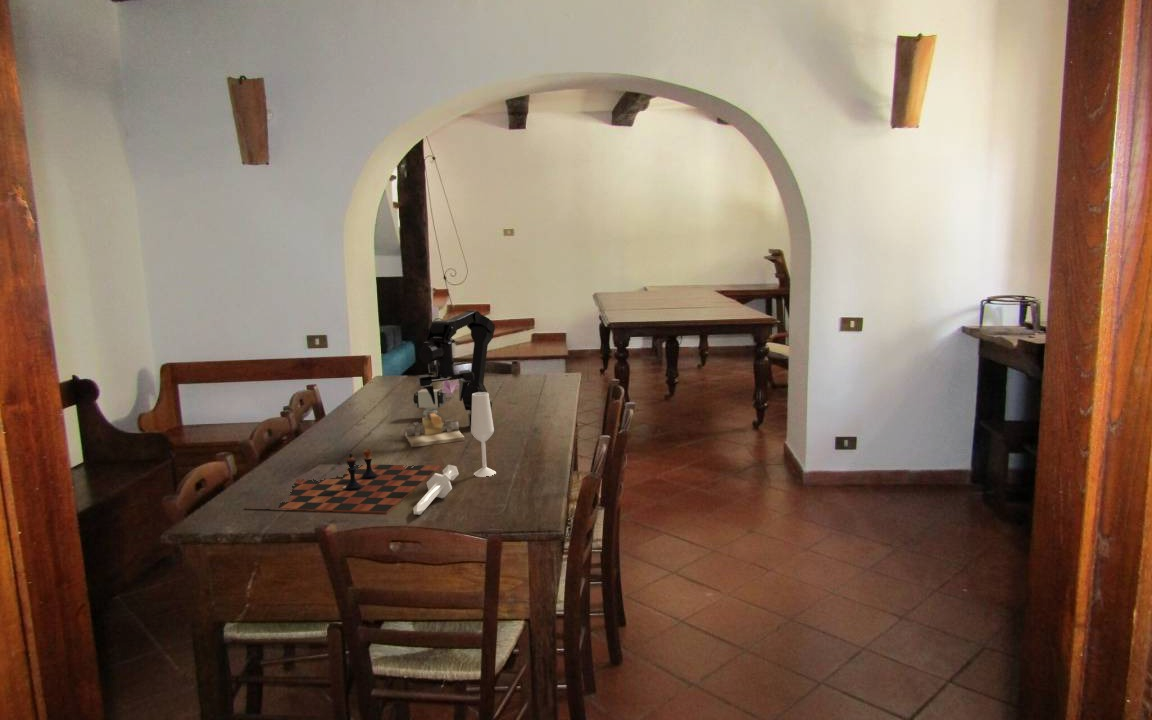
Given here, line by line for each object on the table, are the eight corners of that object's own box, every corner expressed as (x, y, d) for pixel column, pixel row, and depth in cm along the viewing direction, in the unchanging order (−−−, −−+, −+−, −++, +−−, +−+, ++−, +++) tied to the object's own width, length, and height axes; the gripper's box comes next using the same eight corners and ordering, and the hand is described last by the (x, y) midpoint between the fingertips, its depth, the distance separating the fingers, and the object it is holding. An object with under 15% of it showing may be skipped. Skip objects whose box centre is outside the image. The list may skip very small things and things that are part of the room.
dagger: (429, 516, 189) (471, 466, 214) (411, 500, 188) (455, 451, 214) (412, 534, 192) (455, 482, 217) (394, 518, 191) (439, 467, 217)
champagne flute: (486, 478, 221) (482, 397, 217) (468, 475, 224) (463, 395, 220) (500, 471, 226) (496, 392, 222) (483, 468, 230) (478, 390, 226)
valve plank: (455, 429, 277) (454, 411, 276) (464, 440, 262) (463, 421, 261) (405, 435, 271) (404, 417, 270) (411, 447, 256) (410, 427, 255)
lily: (467, 398, 334) (459, 379, 335) (466, 393, 322) (458, 373, 324) (442, 409, 331) (433, 389, 333) (440, 404, 320) (431, 384, 322)
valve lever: (435, 415, 270) (435, 410, 270) (442, 423, 258) (442, 418, 257) (426, 416, 269) (426, 411, 269) (432, 424, 257) (432, 419, 256)
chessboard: (386, 515, 195) (383, 473, 194) (245, 510, 203) (240, 470, 201) (441, 468, 234) (438, 434, 233) (320, 466, 241) (317, 432, 240)
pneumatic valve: (443, 419, 293) (441, 388, 291) (414, 419, 295) (412, 389, 293) (448, 415, 299) (446, 385, 297) (419, 416, 300) (417, 386, 298)
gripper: (465, 351, 270) (467, 394, 273) (412, 357, 263) (415, 401, 266) (473, 356, 260) (476, 401, 263) (418, 361, 253) (422, 407, 256)
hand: (447, 402), depth 262 cm, fingers open, 9 cm apart
